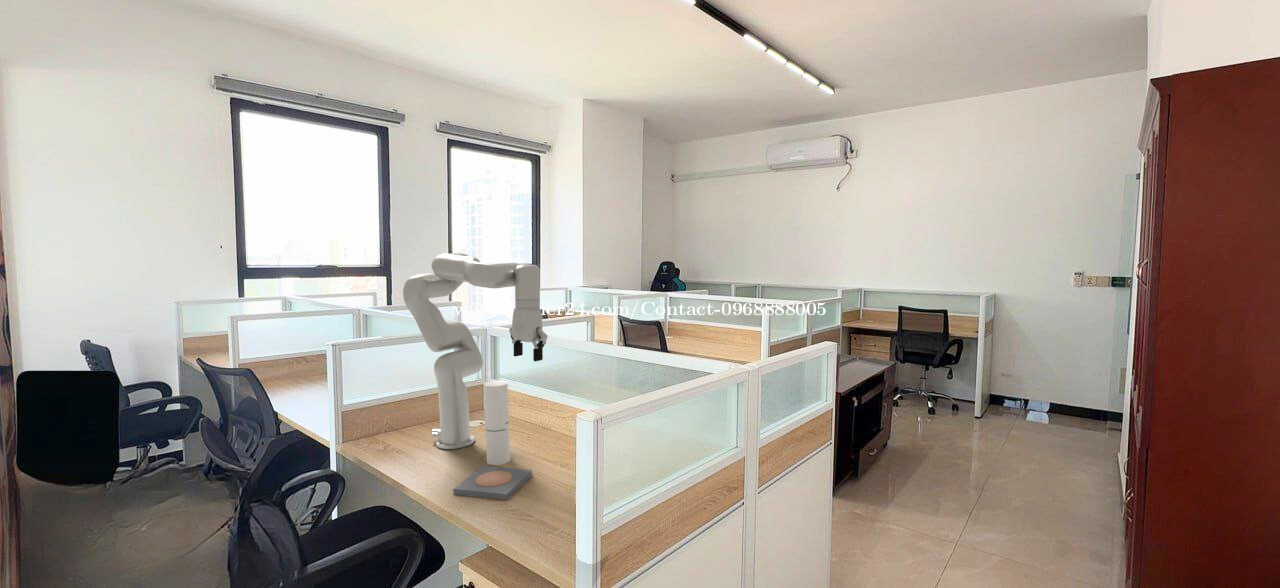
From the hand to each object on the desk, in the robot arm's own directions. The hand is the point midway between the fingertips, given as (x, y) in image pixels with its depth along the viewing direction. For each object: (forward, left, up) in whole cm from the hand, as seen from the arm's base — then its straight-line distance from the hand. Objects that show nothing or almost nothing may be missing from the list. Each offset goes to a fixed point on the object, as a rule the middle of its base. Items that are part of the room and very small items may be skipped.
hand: (527, 358), depth 174 cm
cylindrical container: (-9, -5, -33) cm, 34 cm away
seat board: (-2, -21, -32) cm, 38 cm away
